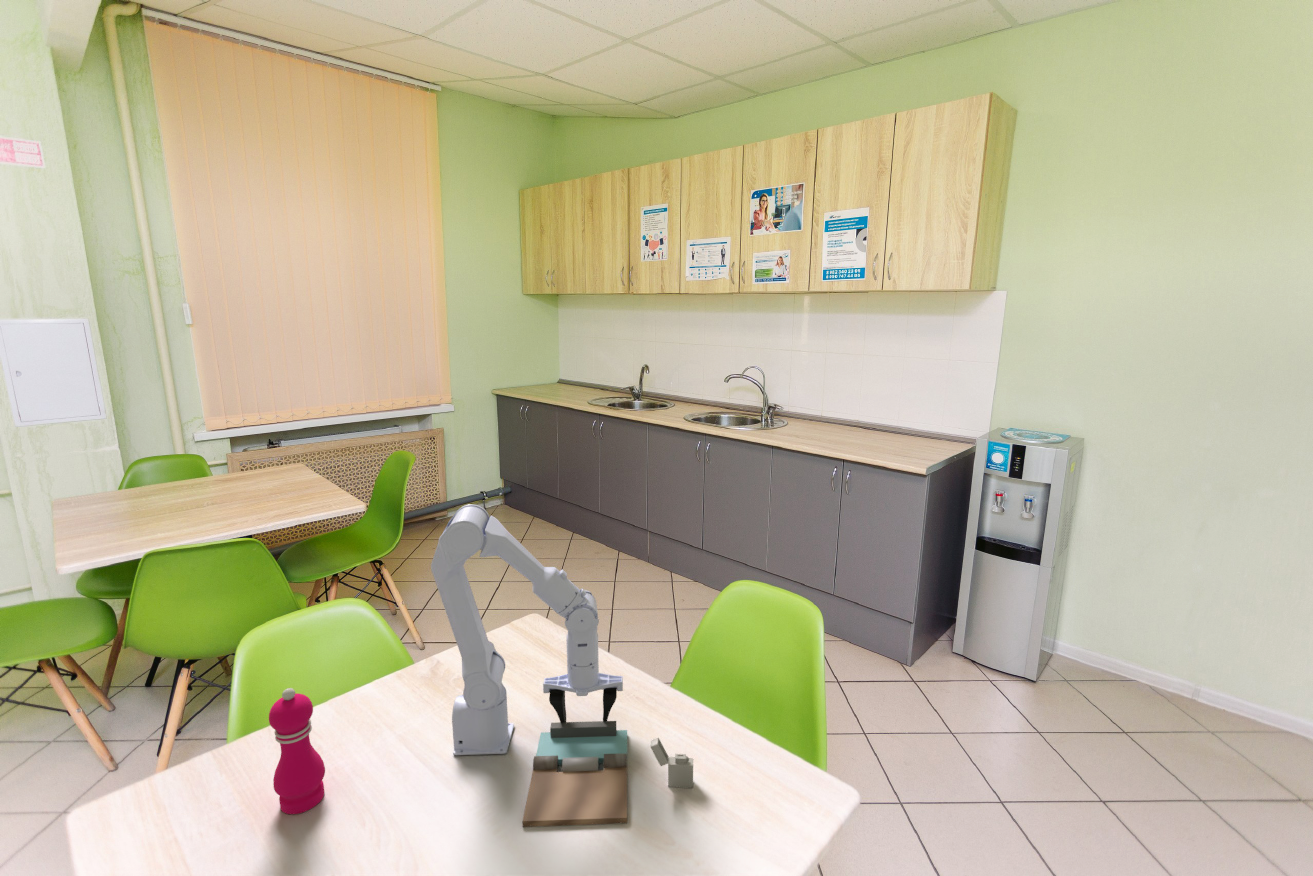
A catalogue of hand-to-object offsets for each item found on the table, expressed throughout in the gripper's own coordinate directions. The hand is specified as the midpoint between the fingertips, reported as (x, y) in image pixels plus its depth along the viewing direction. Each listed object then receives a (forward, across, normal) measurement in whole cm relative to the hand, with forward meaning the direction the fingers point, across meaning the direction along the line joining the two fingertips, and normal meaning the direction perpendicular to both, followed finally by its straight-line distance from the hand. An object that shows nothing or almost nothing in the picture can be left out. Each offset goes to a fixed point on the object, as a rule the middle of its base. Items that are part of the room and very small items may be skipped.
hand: (584, 724), depth 117 cm
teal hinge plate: (+2, 0, -6) cm, 7 cm away
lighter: (+2, +16, -14) cm, 21 cm away
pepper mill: (+2, -44, -15) cm, 47 cm away
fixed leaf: (+2, 0, -15) cm, 15 cm away
